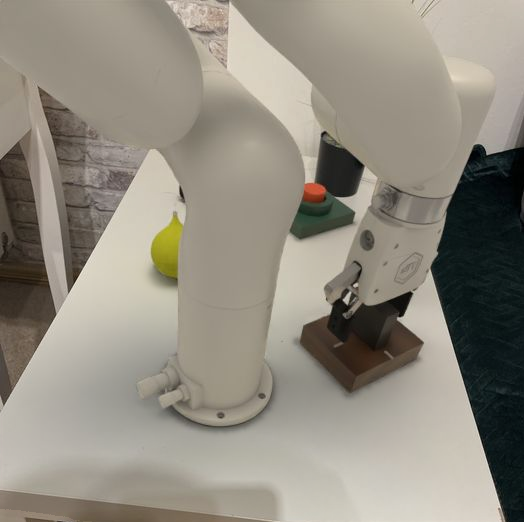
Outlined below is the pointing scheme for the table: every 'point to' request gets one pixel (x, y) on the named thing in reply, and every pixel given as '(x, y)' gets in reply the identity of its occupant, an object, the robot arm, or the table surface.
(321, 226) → the button box
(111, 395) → the table surface
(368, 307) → the grey square slab
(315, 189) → the button
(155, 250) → the ornament
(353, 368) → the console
